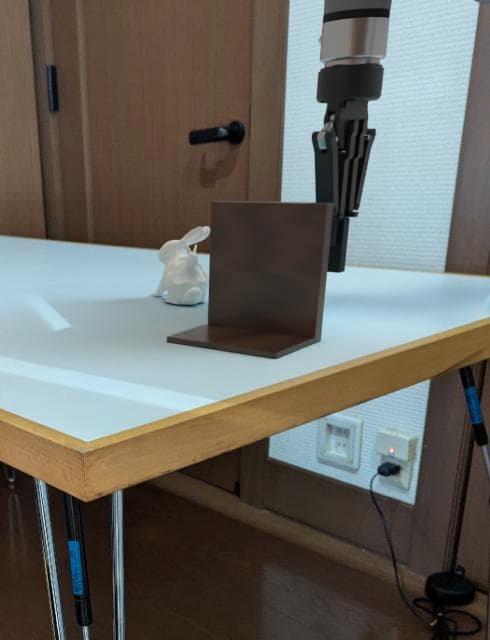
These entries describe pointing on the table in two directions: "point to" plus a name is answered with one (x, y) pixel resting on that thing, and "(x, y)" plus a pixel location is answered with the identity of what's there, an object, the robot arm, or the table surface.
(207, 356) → the table surface
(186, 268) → the rabbit figurine
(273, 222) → the bookend
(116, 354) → the table surface
